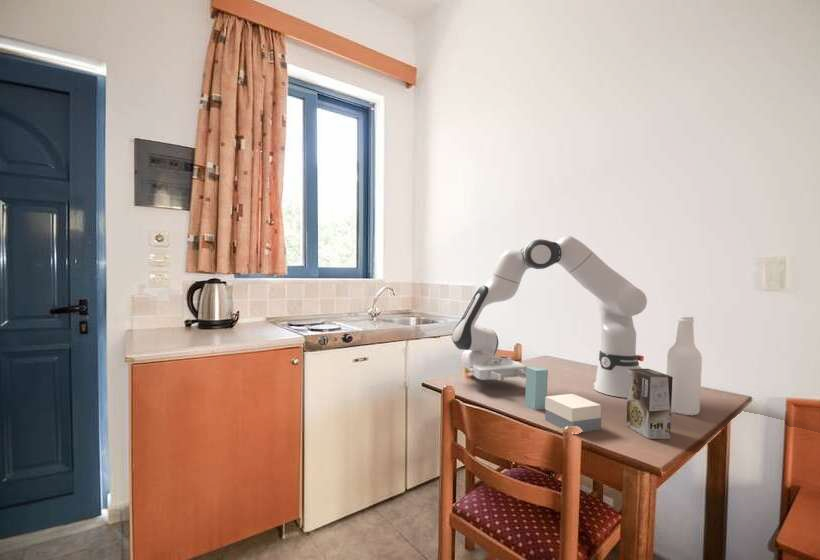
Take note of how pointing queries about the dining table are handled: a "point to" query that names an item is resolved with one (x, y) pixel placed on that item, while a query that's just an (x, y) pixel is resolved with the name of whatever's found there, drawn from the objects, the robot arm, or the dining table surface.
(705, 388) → the dining table surface
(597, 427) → the slab bottom
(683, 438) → the dining table surface
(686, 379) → the alcohol
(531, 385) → the teal post
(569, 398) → the slab top
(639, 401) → the coffee box
